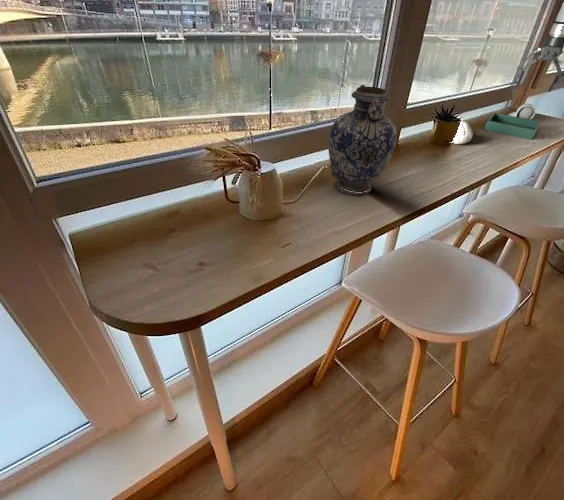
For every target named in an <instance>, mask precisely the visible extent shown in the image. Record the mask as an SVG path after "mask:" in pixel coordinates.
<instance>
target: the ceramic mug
mask: <svg viewBox="0 0 564 500" xmlns="http://www.w3.org/2000/svg"><path fill="white" fill-rule="evenodd" d="M536 111H537V110H536V108H535V106H534V105H533V104H531V103H524V104H521V105H520V106H519V107H518V108H517V110H516V111H513V112H511V113H508V114H507V115H509V116H514V117H520V118H525V119H530V120H533V118H534V117H535V116H536Z"/></svg>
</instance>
